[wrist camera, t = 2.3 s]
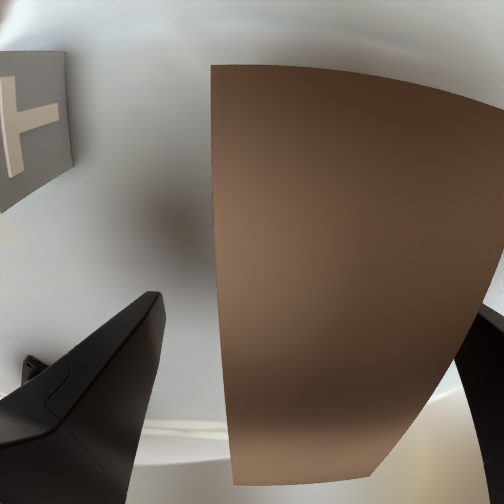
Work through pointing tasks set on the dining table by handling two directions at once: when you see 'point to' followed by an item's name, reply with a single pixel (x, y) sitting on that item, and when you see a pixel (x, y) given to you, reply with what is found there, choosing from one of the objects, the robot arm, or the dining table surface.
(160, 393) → the dining table surface
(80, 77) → the dining table surface
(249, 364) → the brown wooden block
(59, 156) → the letter cube
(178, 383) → the dining table surface
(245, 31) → the dining table surface
